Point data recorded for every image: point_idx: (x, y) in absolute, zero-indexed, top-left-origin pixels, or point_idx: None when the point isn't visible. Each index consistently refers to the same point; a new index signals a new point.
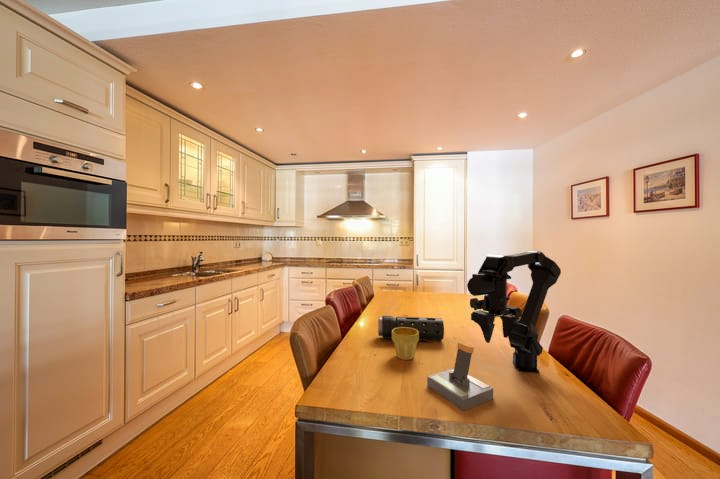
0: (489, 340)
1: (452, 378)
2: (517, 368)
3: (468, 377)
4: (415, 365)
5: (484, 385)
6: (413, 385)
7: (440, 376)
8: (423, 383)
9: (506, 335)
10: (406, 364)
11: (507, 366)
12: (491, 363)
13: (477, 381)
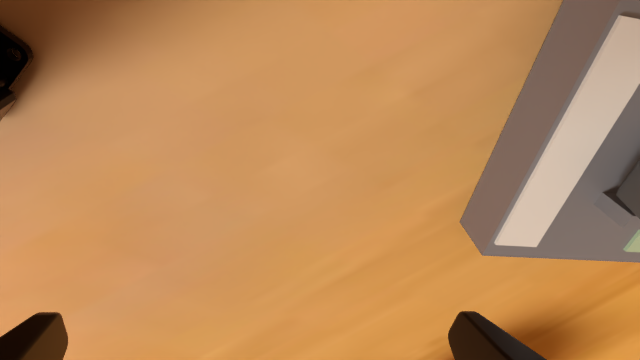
0: (504, 336)
1: None
2: (17, 78)
3: (570, 158)
4: None
5: (628, 44)
6: None
7: (625, 236)
8: None
9: (39, 349)
10: None
11: (60, 141)
12: (134, 214)
13: (594, 100)
